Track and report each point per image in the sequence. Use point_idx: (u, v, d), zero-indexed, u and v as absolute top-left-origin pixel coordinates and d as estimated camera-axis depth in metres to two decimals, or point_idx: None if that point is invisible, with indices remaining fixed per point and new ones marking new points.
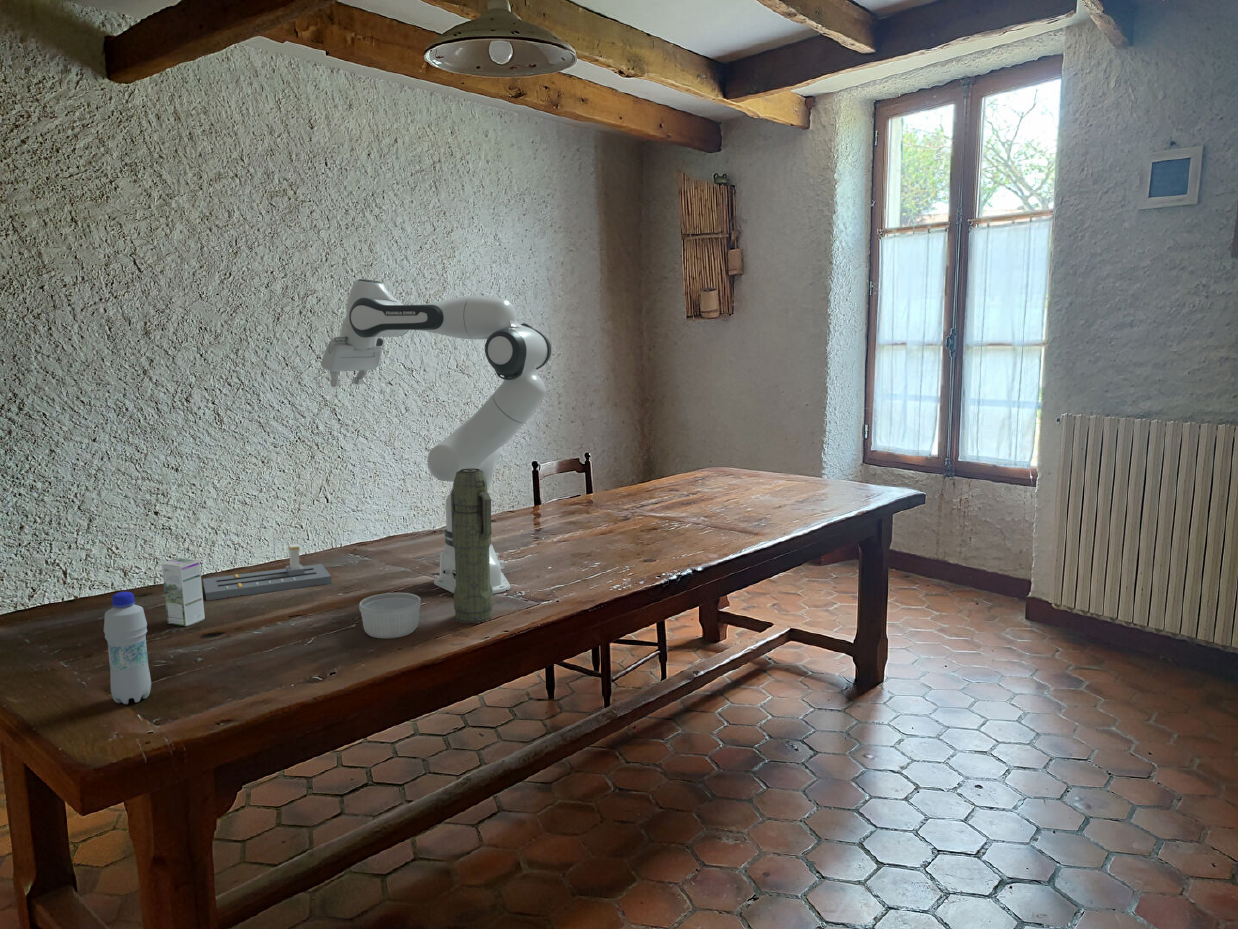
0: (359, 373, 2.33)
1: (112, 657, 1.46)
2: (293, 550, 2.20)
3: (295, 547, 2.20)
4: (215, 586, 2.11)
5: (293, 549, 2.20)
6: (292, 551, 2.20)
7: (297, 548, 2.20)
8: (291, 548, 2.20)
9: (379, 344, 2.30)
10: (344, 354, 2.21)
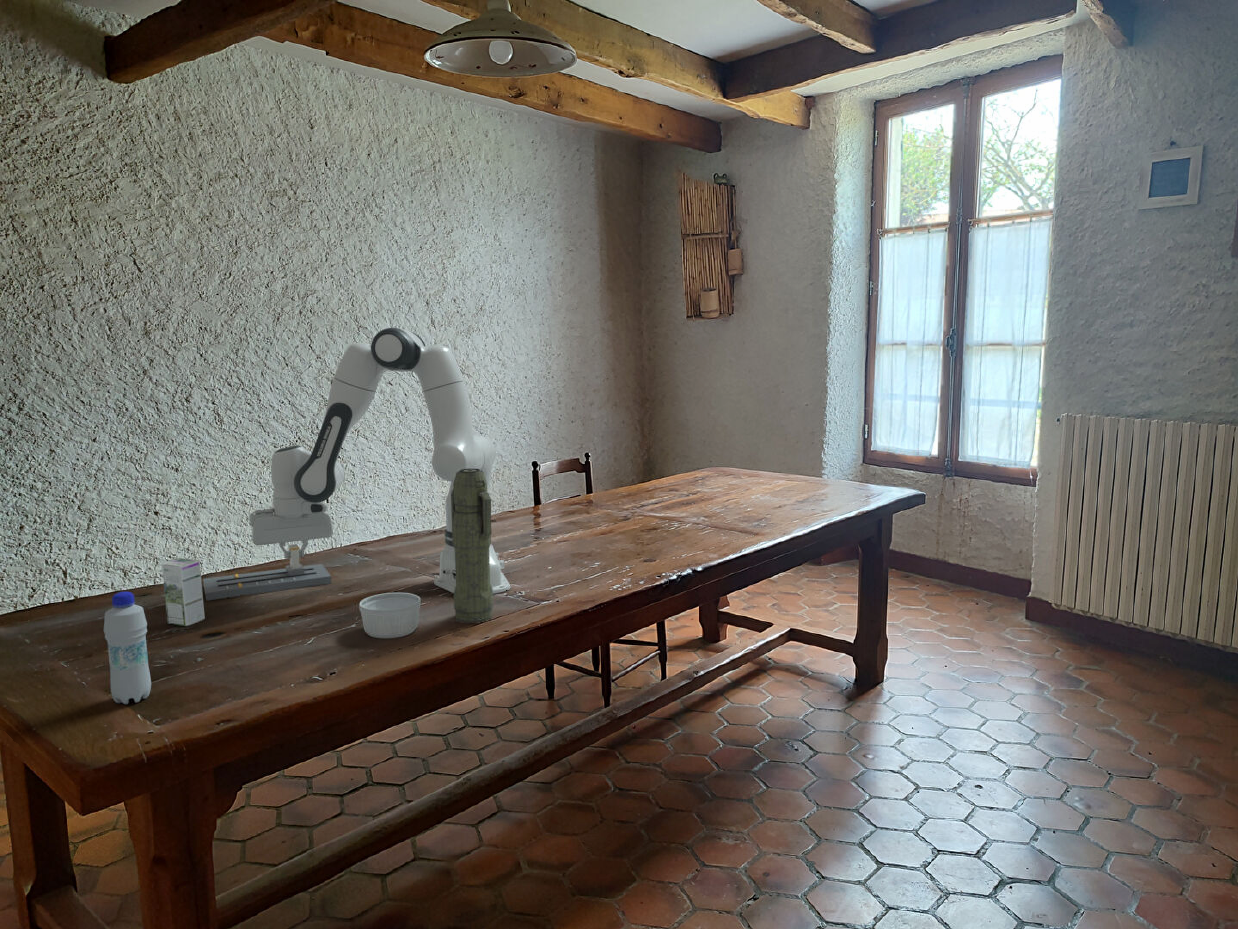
0: (303, 545, 2.23)
1: (112, 657, 1.46)
2: (293, 550, 2.20)
3: (295, 547, 2.20)
4: (215, 586, 2.11)
5: (293, 549, 2.20)
6: (292, 551, 2.20)
7: (297, 548, 2.20)
8: (291, 548, 2.20)
9: (317, 510, 2.20)
10: (269, 526, 2.16)
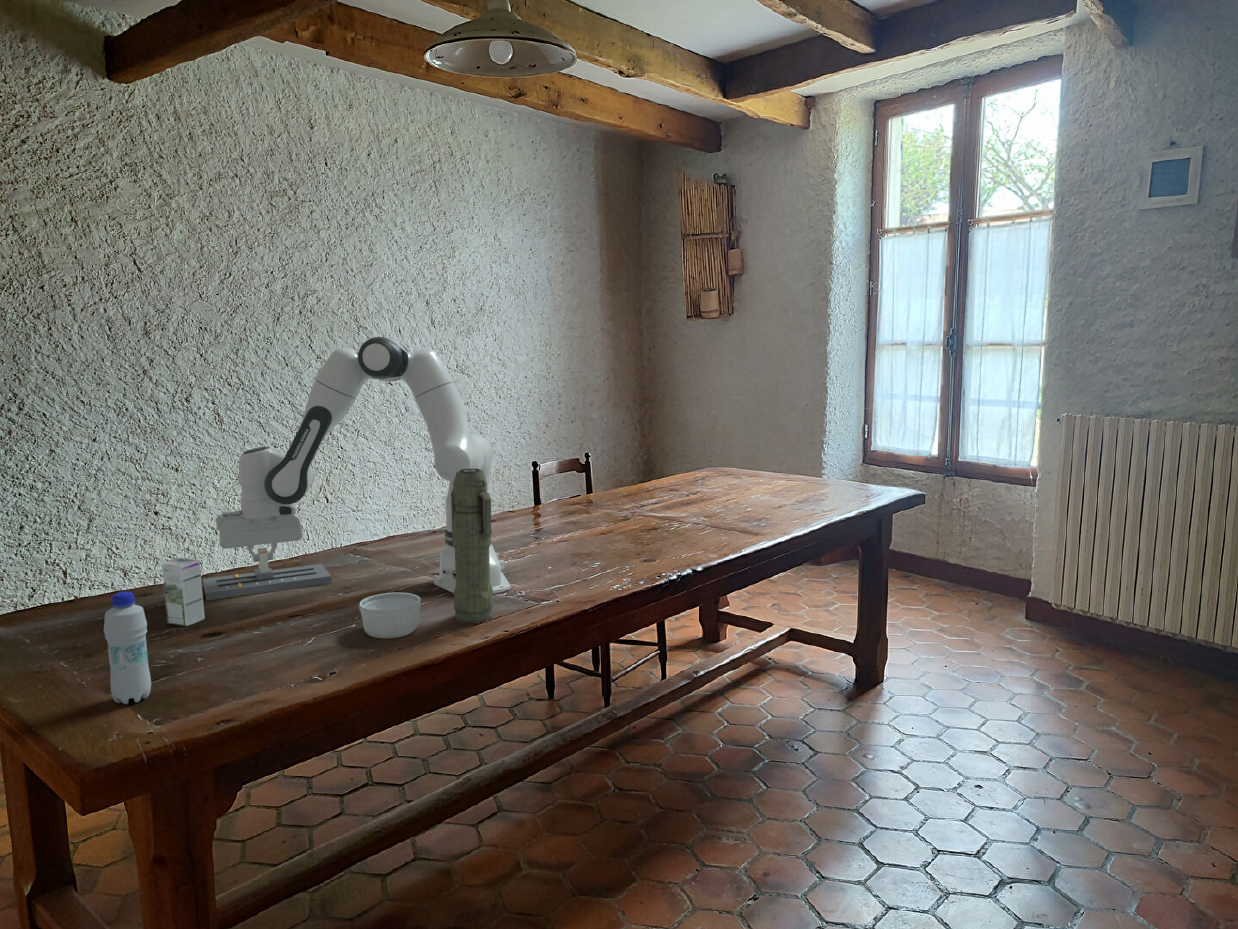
0: (272, 548, 2.19)
1: (112, 657, 1.46)
2: (262, 554, 2.16)
3: (264, 551, 2.17)
4: (215, 586, 2.11)
5: (262, 553, 2.16)
6: (261, 555, 2.16)
7: (266, 552, 2.17)
8: (260, 552, 2.16)
9: (286, 513, 2.16)
10: (237, 529, 2.13)
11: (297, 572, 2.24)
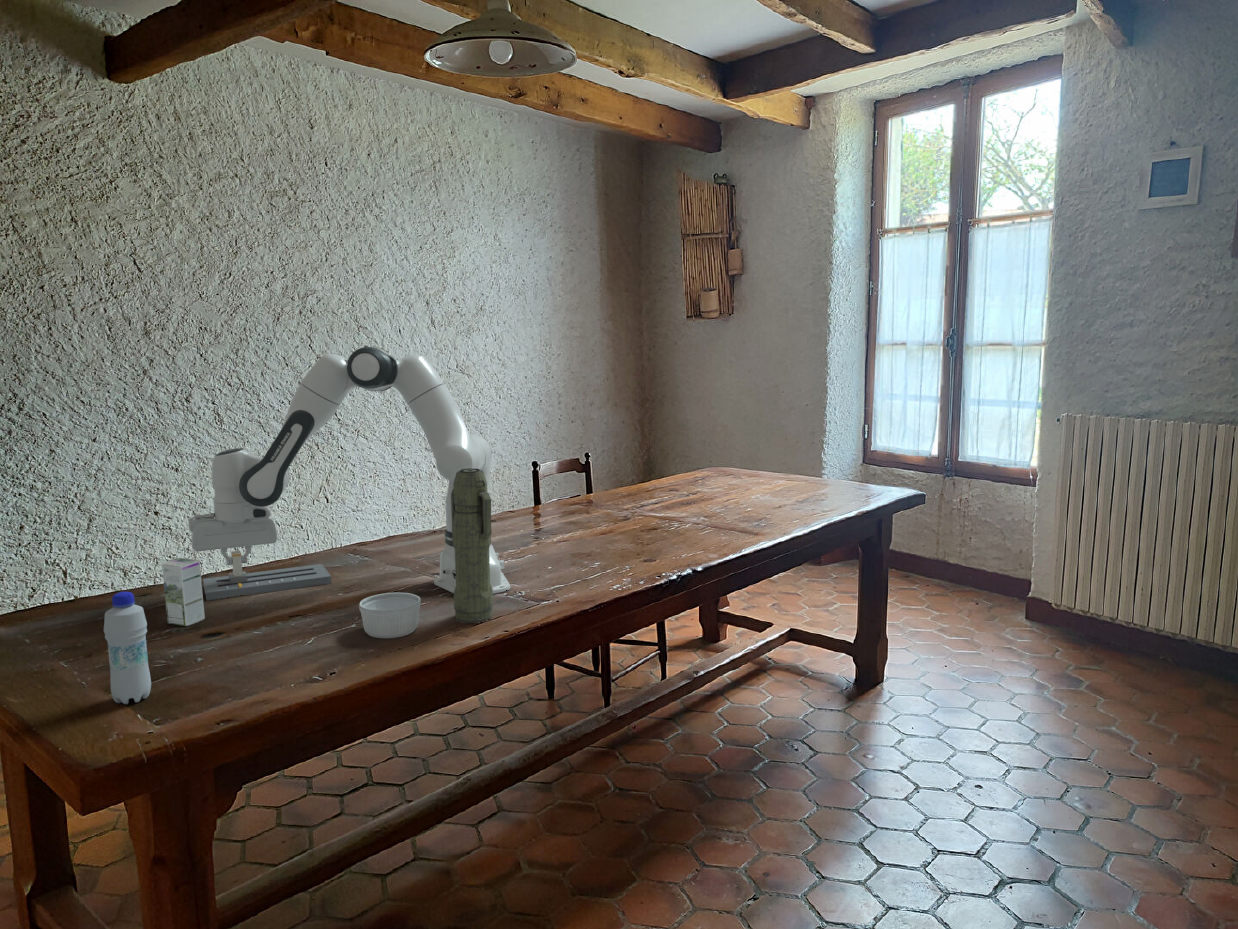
0: (246, 551, 2.16)
1: (112, 657, 1.46)
2: (235, 557, 2.13)
3: (237, 554, 2.13)
4: (215, 586, 2.11)
5: (235, 556, 2.13)
6: (234, 558, 2.13)
7: (239, 555, 2.14)
8: (233, 555, 2.13)
9: (260, 515, 2.13)
10: (210, 531, 2.10)
11: (297, 572, 2.24)
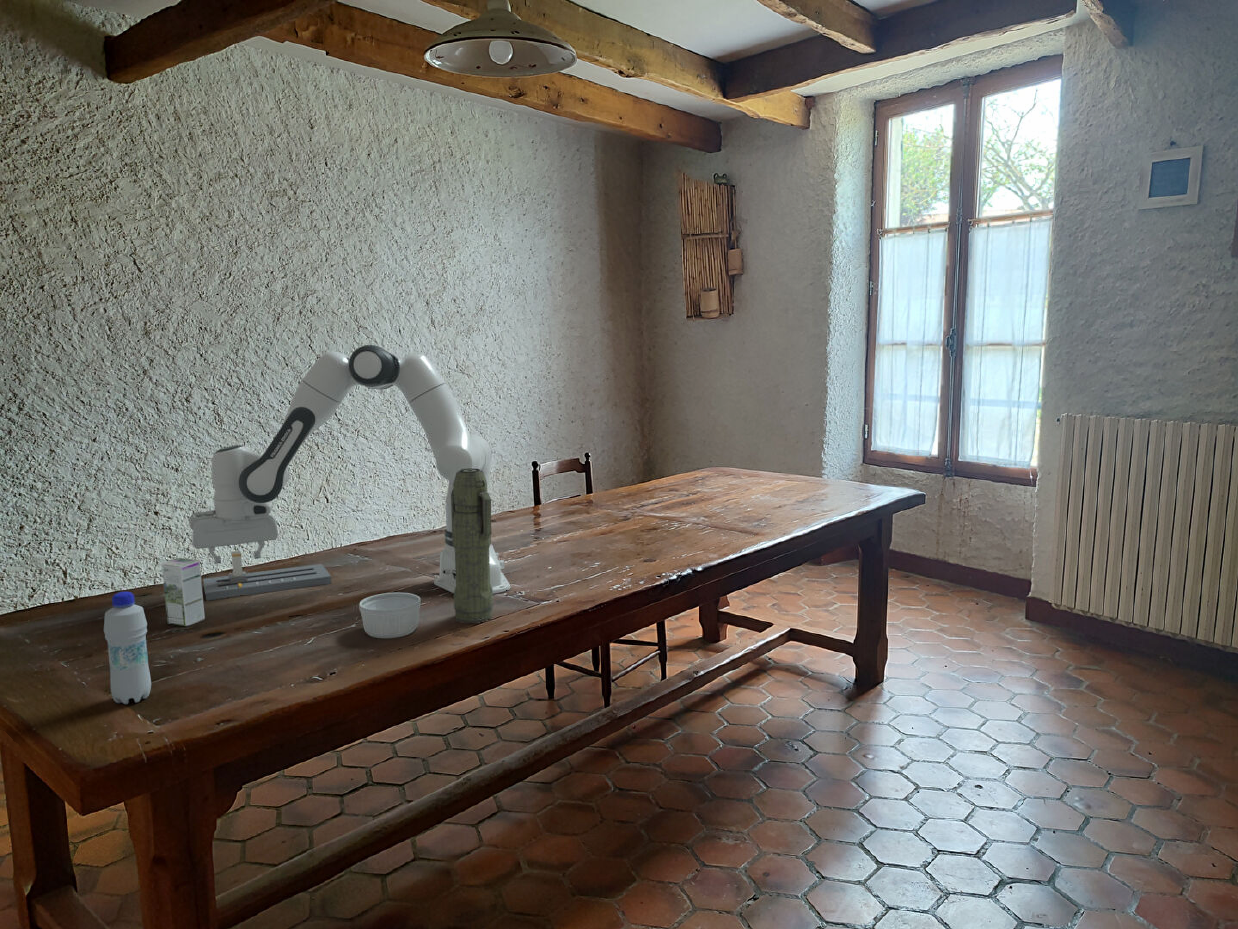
0: (259, 546, 2.17)
1: (112, 657, 1.46)
2: (235, 557, 2.13)
3: (237, 554, 2.13)
4: (215, 586, 2.11)
5: (235, 556, 2.13)
6: (234, 558, 2.13)
7: (239, 555, 2.14)
8: (233, 555, 2.13)
9: (260, 512, 2.13)
10: (210, 529, 2.09)
11: (297, 572, 2.24)
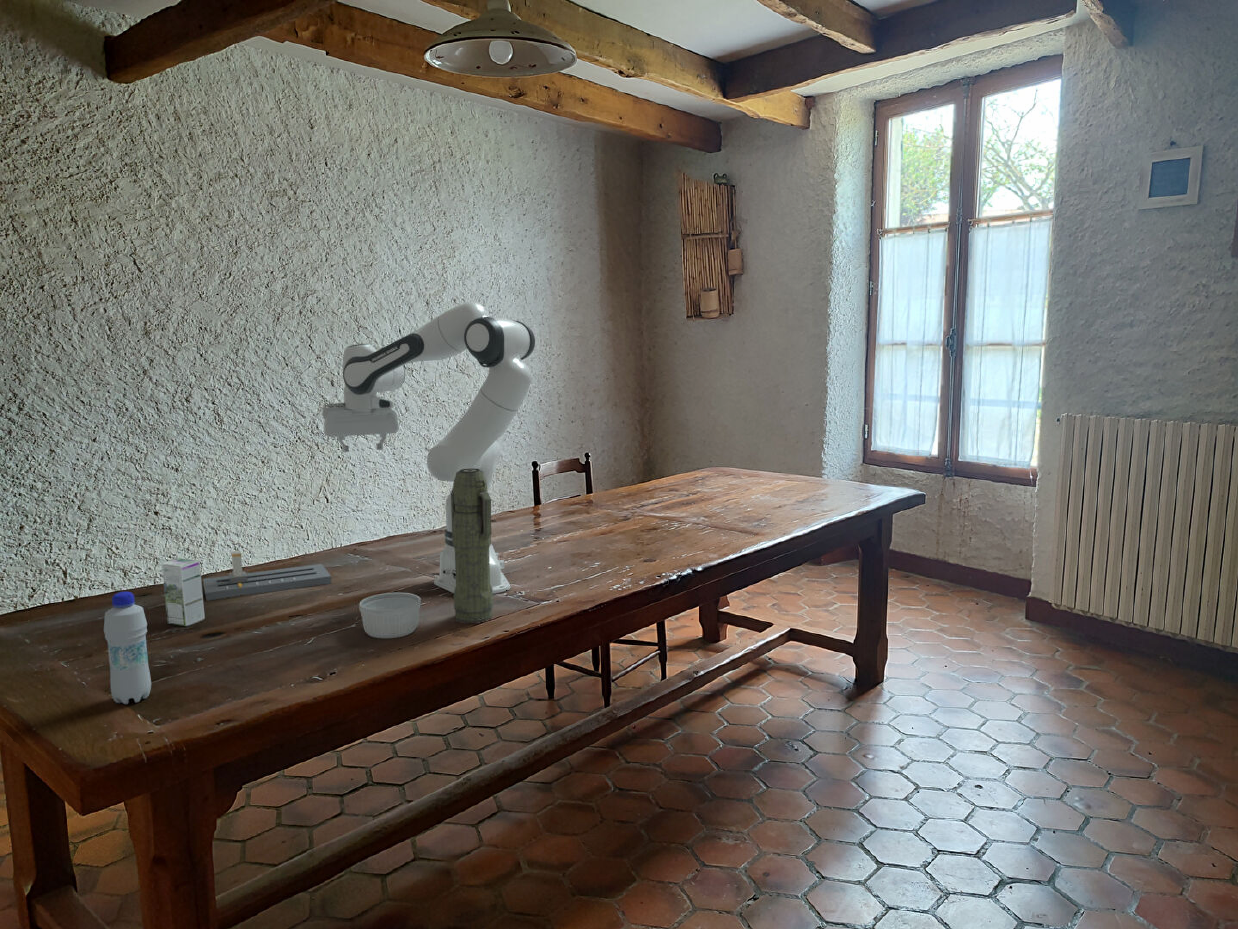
0: (381, 439, 2.38)
1: (112, 657, 1.46)
2: (235, 557, 2.13)
3: (237, 554, 2.13)
4: (215, 586, 2.11)
5: (235, 556, 2.13)
6: (234, 558, 2.13)
7: (239, 555, 2.14)
8: (233, 555, 2.13)
9: (385, 405, 2.33)
10: (341, 419, 2.29)
11: (297, 572, 2.24)
